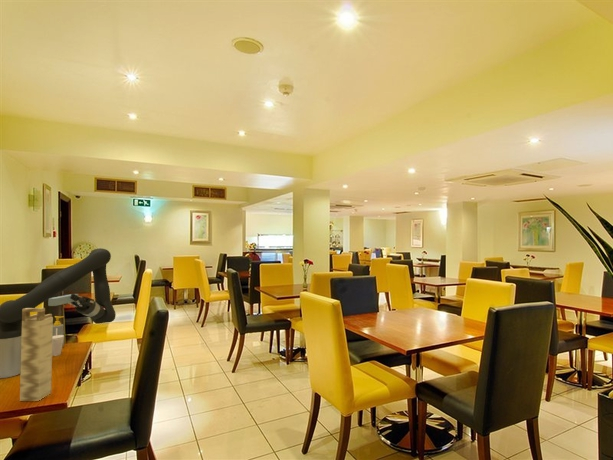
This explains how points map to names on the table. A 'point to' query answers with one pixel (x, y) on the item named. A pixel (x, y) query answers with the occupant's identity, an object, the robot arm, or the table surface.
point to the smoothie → (57, 344)
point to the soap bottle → (58, 328)
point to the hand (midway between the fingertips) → (67, 295)
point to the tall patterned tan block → (36, 354)
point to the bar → (60, 300)
